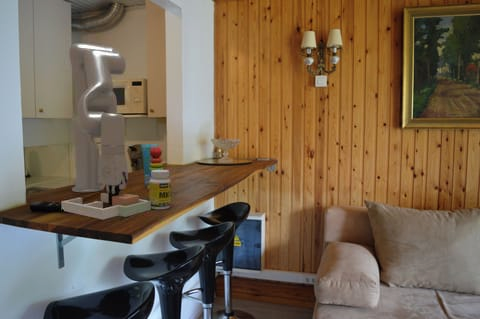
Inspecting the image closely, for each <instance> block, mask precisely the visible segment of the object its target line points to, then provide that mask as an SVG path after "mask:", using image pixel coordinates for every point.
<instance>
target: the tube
mask: <svg viewBox="0 0 480 319" xmlns="http://www.w3.org/2000/svg"><path fill="white" fill-rule="evenodd" d="M140 145H141V153H142V154H141V155H142V164H143V175H144V176H143V177H144V178H143V180H144V185H145V187H146V186H147V187H148V185H149V184H148V182H149V179H148V178H149V172H150V171H149V168H150V163H152V162H150V159H151V158H153V157H151V155H150V150H151V148H153V147H159V143H141V144H140Z"/></svg>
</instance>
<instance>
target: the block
mask: <svg viewBox="0 0 480 319" xmlns="http://www.w3.org/2000/svg"><path fill="white" fill-rule="evenodd" d="M139 199H140V195H138V194H131V193H123V194H119V195H118V196H113V197H112V206H111V207H113V206H117V205H121V206H129V205H133V204H137V203H139Z"/></svg>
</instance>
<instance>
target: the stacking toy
mask: <svg viewBox="0 0 480 319" xmlns="http://www.w3.org/2000/svg"><path fill="white" fill-rule="evenodd" d="M162 154H163V151H162V149H161V148H160V147H159V146H158V147H153V148H151V150H150V155H151V157H153V158H151V159H150V162H152V163H150V168H149V171H150V172H149V178H148V179H149V181H150V179H152V177H151V171H152V170H164V167H163V166H164V164H163V159H162V157H161V156H162ZM148 184H149V182H148ZM147 190H149V185H148V186H147Z"/></svg>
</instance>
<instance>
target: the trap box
mask: <svg viewBox="0 0 480 319" xmlns="http://www.w3.org/2000/svg"><path fill="white" fill-rule="evenodd" d="M108 194H109V193H107V192H101V193H100V201H99V200H94V201H93V202H90V203H84V204H83V198H82V197H76V198H71V199H67V200H61V210H62V209H63V210H64V211H63V212H67V213H71V214H76V215H80V216H85V217H90V218H94V219H99V220H102V221H103V220H106V219H110V218H113V217H114V218H115V217H124V218H127V217H130V216H134V215H137V214H138V215H139V214H140V213H144V212H149V211H151V210H152V209H151V201H149V200H146V199H140V198H139V203H137V204H133V205H129V206H121V205H117V206H113V207H112V206H109V207H105V208H104V203H107V204H109V203H108Z"/></svg>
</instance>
